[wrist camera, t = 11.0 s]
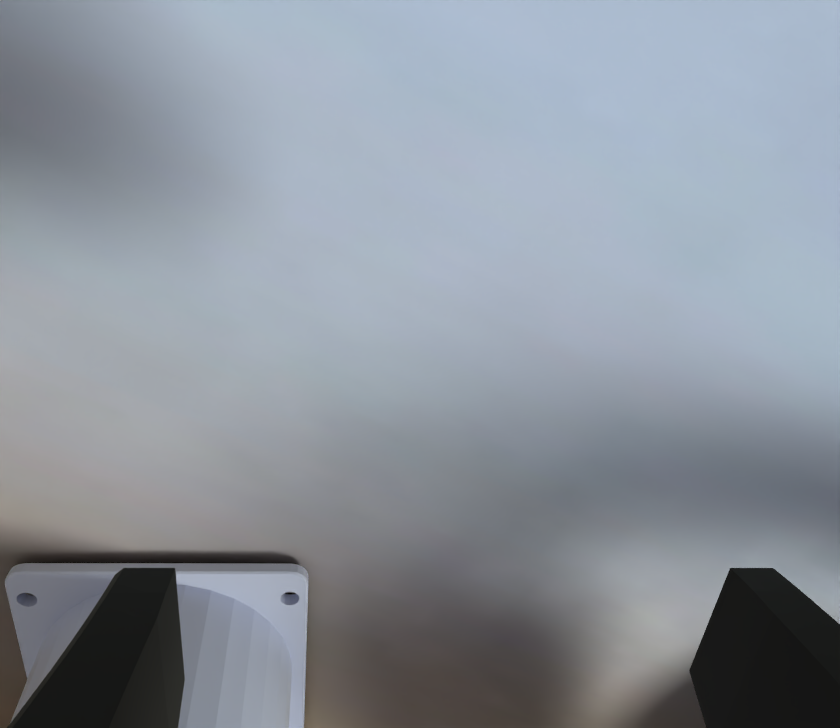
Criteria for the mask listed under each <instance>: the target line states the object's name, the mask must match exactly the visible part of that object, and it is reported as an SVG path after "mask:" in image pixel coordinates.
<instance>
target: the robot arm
mask: <svg viewBox="0 0 840 728" xmlns="http://www.w3.org/2000/svg"><path fill="white" fill-rule="evenodd" d="M308 578H309V576H308V572H307V571H306V570H305V568H304V567H302V566H300V565H298V564H275V563H23V564H18V565H16V566H14V567H12V568H11V570H10V571H9V573H8V575H7V577H6V579H5V588H6V592H7V597H8V601H9V605H10V609H11V613H12V618H13V622H14V626H15V630H16V634H17V638H18V643H19V647H20V651H21V655H22V659H23V664H24V668H25V672H26V676H27V682H26V684H25V687H24V689H23V692H22V694H21V697H20V699H19V702H18V704H17V707H16V710H15V712H14V715H13V717H12V720H11V722H10V724H9V726H8V727H7V728H304V710H305V677H306V644H307V611H308ZM286 592H294V593H296V594H292V595H289V594H285V593H286ZM26 593H30V594H32V595H34V596H32V595H28V594H26ZM689 671H690V674H691V678H692V681H693V684H694V688H695V691H696V695H697V698H698V701H699V705H700V708H701V712H702V715H703V718H704V721H705V724H706V727H707V728H840V624H838V623H837V622H836V621H835V620H834V619H833V618H832V617H830V616H829V615H828V614H827V613H826V612H825V611H824V610H822V609H821V608H820V607H819V606H818V605H817V604H815V603H814V602H813V601H812V600H811V599H810V598H808V597H807V596H806V595H805V594H804V593H803V592H801V591H800V590H799V589H798V588H797V587H795V586H794V585H793V584H792V583H791V582H790V581H788V580H787V579H786V578H785V577H783V576H782V575H781V574H780V573H778V572H777V571H776V570H775V569H773V568H730V570H729V573H728V575H727V578H726V580H725V583H724V585H723V588H722V590H721V593H720V595H719V598H718V600H717V603H716V605H715V608H714V610H713V613H712V615H711V618H710V620H709V623H708V625H707V628H706V630H705V633H704V635H703V638H702V640H701V643H700V645H699V648H698V650H697V653H696V655H695V658H694V660H693V663H692V665H691V668H690V670H689Z"/></svg>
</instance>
